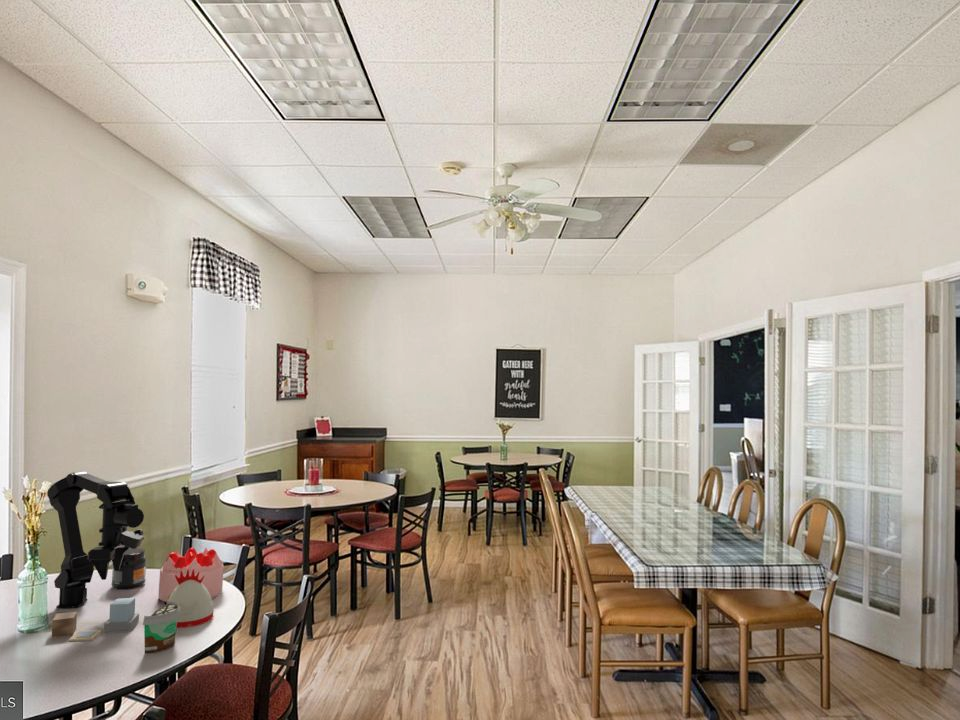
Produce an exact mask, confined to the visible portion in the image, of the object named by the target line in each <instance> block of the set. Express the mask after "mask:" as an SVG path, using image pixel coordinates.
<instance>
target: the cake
mask: <svg viewBox="0 0 960 720" xmlns="http://www.w3.org/2000/svg"><path fill="white" fill-rule="evenodd" d="M175 551H176V552H170V553H169V554H168V555H167V557H166V559H165V561H164V564H163V565H162V567H161V568H160V570H159V580H158V581H159V582H158V598H159V600H160V601H161V602H165V603H167V602H168V600H169V599H168V596H169V595H170V594H171V593H172V592H173V591H174V589H175V588H176V587H177V586H178V585H179V584H178V582H177V580H176V577H175V575H177V576H178V577H180V572H181V570H182V572H183V575H184V577H185V576H186V573H187V570H188V569H189V576H191V574H192V571H193V569H194V573H195V576H196V575H197V574H198V572H199V576H198V579H199V580H200V579H201V578H202V577H203V576H204V578H203V580H202V582H201V583H202V584H203V585H204V586H205V587H206V588H207V590H208V592H209V594H210V596H211V600H213V599H214V598H216V597H218V596H220V595H221V594H222V592H223V586H224V585H223V582H224V568H225V567H224V563H223V560H221V558H220V557H219V556H218V553H217V551H216V550H215V549H214V548H213V549H212V548H211V549H209V550H208V549H207V547H205V548H204V550H203V552H198V551H197V550H196V548H195V547H189V548H188V550H187V551H186V553H185V554H184V556H183V555H181V554H180V552H179V551H178V549H177V550H175ZM219 594H220V595H219Z"/></svg>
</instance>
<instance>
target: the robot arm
mask: <svg viewBox="0 0 960 720" xmlns="http://www.w3.org/2000/svg"><path fill="white" fill-rule="evenodd" d="M84 490H86V491H87V492H90V493H92V494H95V495H96V499H98V500H99V501H100V502H101V504H100V505H99V506H98V508H99V509H100V510H102V519H101V520H102V522H101V523H102V524H101V528H99V529H98V531H99V533H101V541H100V542H98V546H95V547H94V548H91V549H90V550H89V551H88V552H87V553H86V552H85V550H84V546H83V540H82V534H81V530H80V523H79V519H78V513H77V506H78V504H79V502H80V499H81V493H82V492H83V491H84ZM46 495H47V498H48V501H49V504H50V506H51V507H52V508H53V509H54V510H55V511H56V512H57V515H58V520H59V527H60V532H61V538H62V539H61V540H62V544H63V550H64V558H63V560H62V562H61V565H60V573H59V574H58V575H57V577H56V578H54V588H56V589H59V595H58V596H59V600H58V601H59V602H58V604H57V605H56V606H55V607H56V609H59V608H60V609H61V608H62V609H65V608H80V606H82V605H83V604H85V603H86V602H87V601H88V598H87V597H88V587H87V586H86V584H88V583H91V581H92V578H93V575H94V574H93V573H94V571H95V570H96V572H97V574H98V575H99V578H100V579H101V580H102V581H103V580H107V577H108V571H109V567H110V562H112V563H113V566H114V569H115V571H118V570H119V569H120V566H121V563H122V560H123V557H124V554H125V552H126V551H127V550H128V549H129V548H132V549H136V548H139V547H140V546H141V544H142V542H143V541H144V540H145V534H144V530H143V529H142V528H141V529H140V528H138V527H139V526H140V525H141V524H143V521H144V519H145V515H144V513H143V510H141V508H139V504H137V503H136V502H135V497H134V496H133V494H132V492H131V489H130V486H128V484H127V483H126V482H124V481H108V480H105V479H102V478H100V477H97V476H95V475H92V474H90V473H88V472H87V471H82V470H81V471H74V472H70V473H69V474H67V475H66V476H65V477H63V478H61V479H59V480H58V481H56V482H54V483H52V484H51V485H50V487H49V488H48V490H47V494H46ZM128 528H131V529H133V528H134V529H135V528H137V529H135V530H134V531H133V530H131V531H129V530H128ZM112 563H111V564H112ZM113 566H112V567H113Z"/></svg>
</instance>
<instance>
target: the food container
mask: <svg viewBox="0 0 960 720" xmlns="http://www.w3.org/2000/svg"><path fill="white" fill-rule="evenodd" d="M180 614H181V612H180V607H179V605H178V604H177V603H175V602H166V605H164V606H163V607H161V608H159V609H157V610H155V611H154V612H153V613H152V614H151V615H144V618H143V622H142V625H143V628H144V654H155V653H160V652H163V651H166V650H169V649H171V648H172V647H174V645H175V642H176V631H177V628H176V626H177V618H178V616H179V615H180Z"/></svg>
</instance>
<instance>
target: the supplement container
mask: <svg viewBox="0 0 960 720" xmlns="http://www.w3.org/2000/svg"><path fill="white" fill-rule="evenodd" d="M145 556H146V549H145V548H140V547H137V548H136V549H132V548H129V549H128V550H127V551H126V552H125V554H124V557H123V560H122V563H121V566H120V569H119V570H118V571H115V569H114V566H113V563H111V566H112V569H111V571H112V573H111V585H110V586H111V587H112V588H113V589H114V590H120V591H121V590H122V591H127V590H133V589H136V588H140V587H142V586H143V585H145V583H146V574H147V573H146V571H147V561H148V560H147V558H146V557H145Z"/></svg>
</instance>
